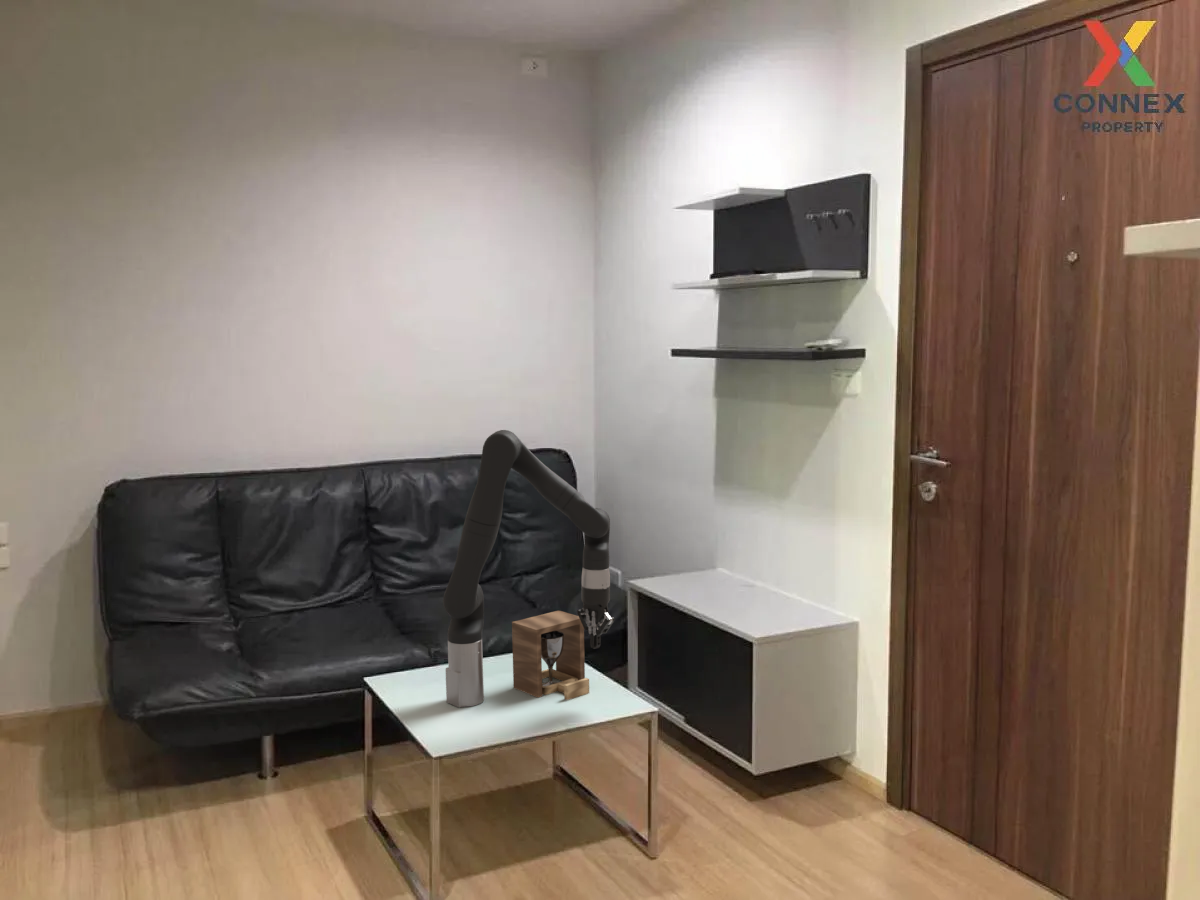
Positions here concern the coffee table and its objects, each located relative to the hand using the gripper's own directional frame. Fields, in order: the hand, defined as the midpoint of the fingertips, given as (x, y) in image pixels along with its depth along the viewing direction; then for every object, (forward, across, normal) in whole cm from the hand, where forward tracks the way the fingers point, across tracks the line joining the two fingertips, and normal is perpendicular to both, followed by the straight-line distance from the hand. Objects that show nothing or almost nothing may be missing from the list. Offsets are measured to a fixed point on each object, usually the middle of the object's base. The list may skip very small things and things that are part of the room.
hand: (595, 647), depth 273 cm
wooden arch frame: (+16, -20, 0) cm, 25 cm away
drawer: (+16, -17, 0) cm, 23 cm away
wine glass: (+16, -19, 0) cm, 25 cm away
